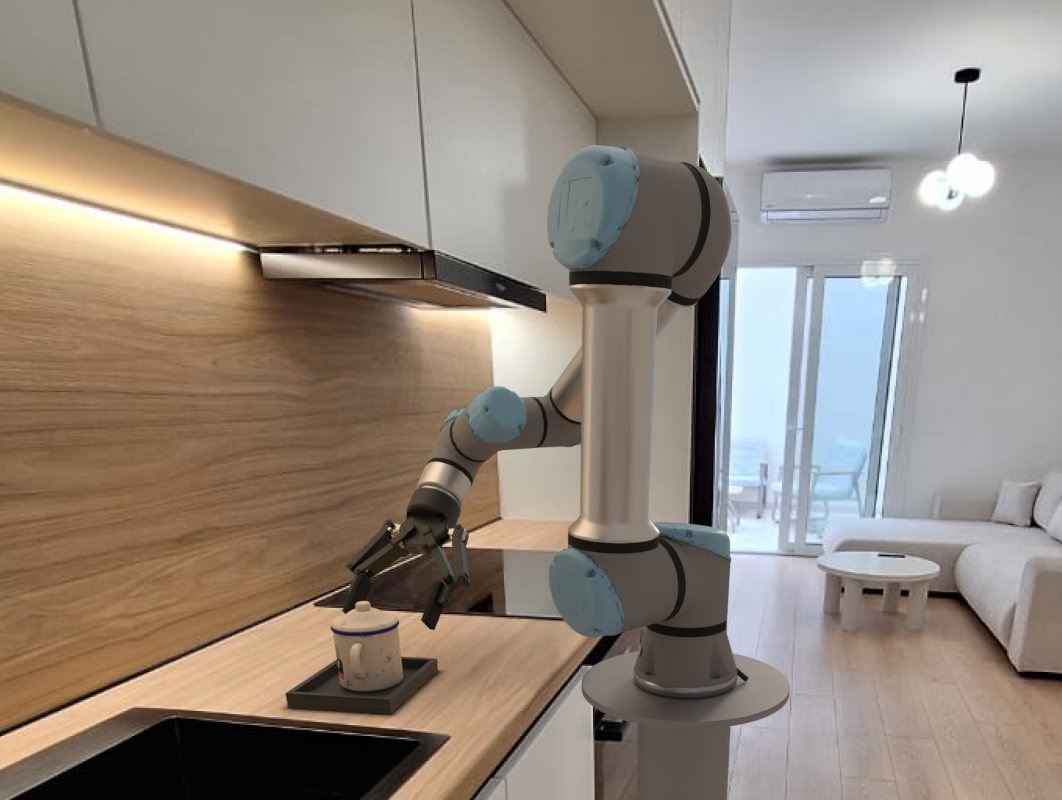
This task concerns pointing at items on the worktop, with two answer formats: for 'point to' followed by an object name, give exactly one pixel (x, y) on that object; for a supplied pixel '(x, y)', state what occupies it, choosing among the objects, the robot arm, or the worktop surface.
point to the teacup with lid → (367, 649)
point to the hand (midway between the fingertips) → (387, 620)
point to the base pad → (330, 695)
